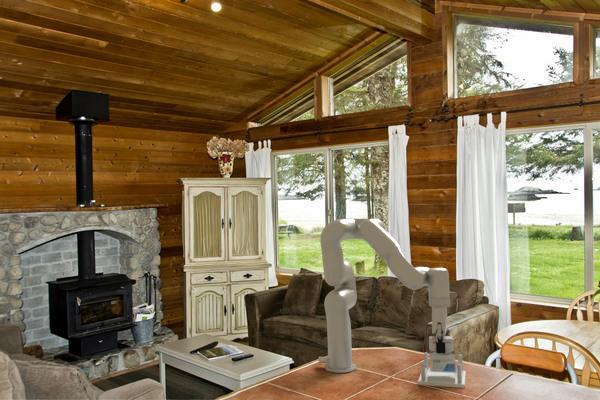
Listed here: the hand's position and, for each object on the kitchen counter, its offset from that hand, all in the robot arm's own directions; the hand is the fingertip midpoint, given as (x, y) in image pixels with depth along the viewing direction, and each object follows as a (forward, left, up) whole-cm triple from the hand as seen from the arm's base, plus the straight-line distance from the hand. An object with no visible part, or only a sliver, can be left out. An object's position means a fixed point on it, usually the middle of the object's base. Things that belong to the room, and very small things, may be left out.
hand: (441, 350), depth 195 cm
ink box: (0, 0, -7) cm, 7 cm away
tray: (0, 0, -11) cm, 11 cm away
